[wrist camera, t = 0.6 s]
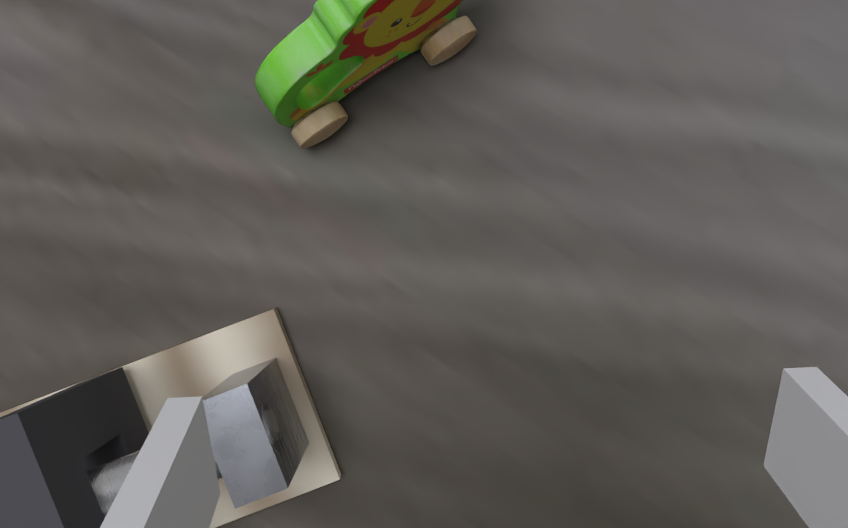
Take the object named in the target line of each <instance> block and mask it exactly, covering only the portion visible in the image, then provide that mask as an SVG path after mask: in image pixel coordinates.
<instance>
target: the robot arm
mask: <svg viewBox="0 0 848 528" xmlns="http://www.w3.org/2000/svg"><path fill="white" fill-rule="evenodd" d="M763 466H764V467H765V469H766V470H767V471H768V473H769V474H770V475H771V477H772V478H773V479H774V481H775V482H776V484H777V485H778V486H779V488H780V489H781V490H782V492H783V493H784V494H785V496H786V497H787V499H788V500H789V501H790V503H791V504H792V505H793V507H794V508H795V509H796V511H797V512H798V514H799V515H800V516H801V518H802V519H803V520H804V522H805V523H806V524H807V526H808V527H809V528H848V397H847V396H846V395H845V394H844V393H843V392H842V391H841V390H840V389H839V388H838V387H837V386H836V385H835V384H834V383H833V382H832V381H831V380H830V379H829V378H828V377H827V376H825V375H824V374H823V373H822V372H821V371H820V370H819V369H818V368H817V367H806V368H785V369H783V373H782V377H781V382H780V387H779V392H778V397H777V402H776V407H775V412H774V416H773V421H772V426H771V431H770V436H769V441H768V446H767V451H766V455H765V460H764V465H763ZM219 496H220V488H219V483H218V478H217V472H216V467H215V462H214V457H213V451H212V446H211V441H210V435H209V430H208V425H207V419H206V414H205V409H204V403H203V398H202V396H199V397H178V398H167V400H166V402H165V404H164V406H163V408H162V410H161V411H160V413H159V415H158V417H157V419H156V421H155V423H154V425H153V427H152V429H151V431H150V433H149V434H148V436H147V438H146V440H145V442H144V444H143V446H142V448H141V450H140V452H139V454H138V456H137V457H136V459H135V461H134V463H133V465H132V467H131V469H130V471H129V473H128V475H127V477H126V478H125V480H124V482H123V484H122V486H121V488H120V490H119V492H118V494H117V496H116V498H115V500H114V501H113V503H112V505H111V507H110V509H109V511H108V513H107V515H106V517H105V519H104V521H103V522H102V524H101V526H100V528H209V527H210V524H211V521H212V518H213V515H214V512H215V509H216V505H217V502H218V499H219Z"/></svg>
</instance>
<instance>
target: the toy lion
mask: <svg viewBox="0 0 848 528" xmlns="http://www.w3.org/2000/svg"><path fill="white" fill-rule="evenodd" d="M462 1H463V0H317V1H316V2H315V4H314V6H313V13H312V14H311V16H310V17H309V18H308V19H307V20H306V21H304V22H303V23H302V24H301V25H299V26H298V27H297V28H296V29H294V30H293V31H292V32H291V33H290V34H289V35H288V36H286V37H285V38H284V39H283V40H282V41H281V42H280V43H279V44H278V45H277V46H276V47H275V48H274V49H273V50H272V51H271V52H270V53H269V55H268V56H267V57H266V58H265V60H264V61H263V63H262V65H261V66H260V68H259V70H258V72H257V74H256V78H255V86H256V89H257V92H258V94H259V95H260V97H261V99H262V100H263V102H264V103H265V105H266V106H267V107H268V109H269V110H270V112H271V113H272V115H273V116H274V117H275V119H276V120H277V121H278V122H279V123H280V124H281V125H284V126H287V127H291V128H292V129H293V130H292V132H291V135H292V136H293V138H294V139H295V141H296V142H297V144H298V145H299V147H300V148H303V149H304V148H307V147H310V146H313V145H315V144H317V143H319V142H321V141H323V140H325V139H326V138H328V137H329V136H331V135H332V134H333V133H335V132H336V131H337V130H338V129H339V128H340V127H341V126H342V125H343V124H344V123H345V122H346V121H347V119H348V115H347V113H346V112H345V111H344V109H343V108H342V106H341V105H340V104H339V103H338V101H340V100H341V99H342V98H343V97H345V96H346V95H347V94H349V93H350V92H351V91H352V90H354V89H355V88H357V87H358V86H359V85H361V84H362V83H364V82H365V81H367V80H368V79H370V78H371V77H373V76H374V75H375V74H377V73H379V72H380V71H382V70H383V69H385V68H386V67H388V66H390V65H391V64H393V63H395V62H396V61H398V60H400V59H402V58H403V57H405V56H407V55H409V54H411V53H413V52H414V51H416V50H419V49H421V54H422V55H423V56H424V58H425V59H426V61H427V62H428V64H429V65H430V66H434V65H437V64H439V63H441V62H443V61H445V60H447V59H449V58H450V57H452V56H453V55H455V54H456V53H458V52H459V51H460V50H461V49H463V48H464V47H465V46H466V45H467V44H468V43H469V42H470V41H471V40H472V38H473V37H474V36H475V35H476V33H477V30H476V28H475V27H474V25H473V24H472V22H471V21H470V19H469V18H468V17H467V16H461V17H459V18H457V17H456V14H457V10H458V7H459V5H460V3H461V2H462Z"/></svg>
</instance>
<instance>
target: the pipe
mask: <svg viewBox="0 0 848 528" xmlns="http://www.w3.org/2000/svg"><path fill="white" fill-rule="evenodd" d="M202 398H203V403H204V409H205V414H206V419H207V425H208V430H209V435H210V441H211V446H212V451H213V457H214V462H215V467H216V472H217V478H218V479H220V478H223V480H224V482H225V485H226V487H227V490H228V492H229V495H230V497H231V500H232V502H233V505H234V508H235V509H236V508H238V507H241V506H244V505H246V504H249V503H251V502H254V501H257V500H259V499H262V498H264V497H267V496H270V495H272V494H275V493H277V492H280V491H283V490H285V489H288V487H289V485H290V483H291V481H292V479H293V477H294V474H295V472H296V470H297V468H298V466H299V464H300V462H301V459H302V457H303V455H304V453H305V451H306V449H307V446H308V444H309V441H308V438H307V436H306V433H305V430H304V428H303V425H302V423H301V420H300V418H299V415H298V412H297V410H296V407H295V405H294V402H293V400H292V397H291V395H290V392H289V389H288V387H287V384H286V382H285V379H284V377H283V374H282V371H281V369H280V366H279V364H278V361H277V359H276V358H273V359H271V360H268V361H266V362H263V363H260V364H258V365H255V366H252V367H250V368H247V369H245V370H242V371H239V372H237V373H234V374H232V375H231V376H229V377H228V378H227V379H226V380H224V381H223V382H222V383H220V384H219V385H218V386H216V387H215V388H214V389H213V390H211V391H210V392H209V393H207V394H206V395H205V396H204V397H202ZM139 452H140V450H139V451H137V452H134V453H131V454H129V455H126V456H124V457H121V458H118V459H116V460H113V461H111V462H108V463H105V464H103V465H100V466H97V467H95V468H92V469H90V470H87V471H86V473H87V476H88V478H89V481H90V483H91V486H92V488H93V491H94V493H95V496H96V498H97V501H98V503H99V506H100V508H101V511H102V513H103V516H104V518H105V517H106V515H107V513H108V511H109V509H110V507H111V505H112V503H113V501H114V500H115V498H116V496H117V494H118V492H119V490H120V488H121V486H122V484H123V482H124V480H125V478H126V477H127V475H128V473H129V471H130V469H131V467H132V465H133V463H134V461H135V459H136V457H137V456H138V454H139Z"/></svg>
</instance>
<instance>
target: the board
mask: <svg viewBox="0 0 848 528" xmlns="http://www.w3.org/2000/svg"><path fill="white" fill-rule="evenodd" d="M273 358H276V359H277V361H278V364H279V366H280V369H281V371H282V374H283V377H284V379H285V382H286V384H287V387H288V389H289V392H290V395H291V397H292V400H293V402H294V405H295V407H296V410H297V412H298V415H299V418H300V420H301V423H302V425H303V428H304V430H305V433H306V436H307V438H308V441H309V444H308V446H307V449H306V451H305V453H304V455H303V457H302V459H301V462H300V464H299V466H298V468H297V470H296V472H295V474H294V477H293V479H292V481H291V483H290V485H289V487H288V489H285V490H283V491H280V492H277V493H275V494H272V495H270V496H267V497H264V498H262V499H259V500H257V501H254V502H251V503H249V504H246V505H244V506H241V507H238V508H236V509H235V508H234V505H233V502H232V500H231V497H230V495H229V492H228V490H227V487H226V485H225V482H224V480H223V478H220V479H218V483H219V488H220V496H219V499H218V502H217V505H216V509H215V512H214V515H213V518H212V521H211V524H210V527H209V528H215V527H218V526H221V525H223V524H226V523H228V522H231V521H234V520H236V519H239V518H241V517H244V516H247V515H249V514H252V513H254V512H257V511H259V510H262V509H265V508H267V507H270V506H272V505H275V504H278V503H280V502H283V501H285V500H288V499H291V498H293V497H296V496H298V495H301V494H304V493H306V492H309V491H311V490H314V489H317V488H319V487H322V486H324V485H327V484H330V483H332V482H335V481H337V480H340V478H341V472H340V470H339V467H338V464H337V462H336V459H335V457H334V454H333V452H332V449H331V446H330V444H329V441H328V439H327V436H326V434H325V431H324V428H323V426H322V423H321V421H320V418H319V416H318V413H317V410H316V408H315V405H314V403H313V400H312V398H311V395H310V392H309V390H308V387H307V385H306V382H305V380H304V377H303V374H302V372H301V369H300V367H299V364H298V362H297V359H296V356H295V354H294V351H293V349H292V346H291V344H290V341H289V338H288V336H287V333H286V331H285V328H284V326H283V323H282V320H281V318H280V315H279V313H278V310H277V308H274V309H272V310H269V311H266V312H264V313H261V314H259V315H256V316H253V317H251V318H248V319H245V320H243V321H240V322H237V323H235V324H232V325H230V326H227V327H224V328H222V329H219V330H216V331H214V332H211V333H208V334H206V335H203V336H201V337H198V338H195V339H193V340H190V341H187V342H185V343H182V344H179V345H177V346H174V347H172V348H169V349H166V350H164V351H161V352H158V353H156V354H153V355H150V356H148V357H145V358H143V359H140V360H137V361H135V362H132V363H129V364H127V365H124V366H121V367H123V370H124V372H125V375H126V377H127V380H128V382H129V385H130V387H131V390H132V392H133V395H134V397H135V400H136V402H137V405H138V407H139V410H140V412H141V415H142V417H143V420H144V422H145V425H146V427H147V430H148V432H149V433H150V431H151V429H152V427H153V425H154V423H155V421H156V419H157V417H158V415H159V413H160V411H161V410H162V408H163V406H164V404H165V402H166V400H167V398H178V397H199V396H202V397H204V396H205V395H206V394H207V393H209V392H210V391H211V390H213V389H214V388H215V387H216V386H218V385H219V384H220V383H222V382H223V381H224V380H226V379H227V378H228V377H229V376H231V375H232V374H234V373H237V372H239V371H242V370H245V369H247V368H250V367H252V366H255V365H258V364H260V363H263V362H266V361H268V360H271V359H273ZM121 367H119V368H121ZM116 369H118V368H116ZM116 369H114V370H116ZM111 371H113V370H111ZM108 372H110V371H108ZM108 372H106V373H108ZM103 374H105V373H103ZM100 375H102V374H100ZM100 375H98V376H100ZM95 377H97V376H95ZM92 378H94V377H92ZM92 378H90V379H92ZM87 380H89V379H87ZM87 380H85V381H87ZM82 382H84V381H82ZM79 383H81V382H79ZM79 383H77V384H79ZM74 385H76V384H74ZM74 385H71V386H69V387H72V386H74ZM69 387H66V388H63V389H61V390H58V391H56V392H53V393H50V394H48V395H45V396H42V397H40V398H37V399H34V400H32V401H29V402H27V403H24V404H21V405H19V406H16V407H13V408H11V409H8V410H6V411H3V412H0V417H2V416H4V415H7V414H9V413H11V412H14V411H16V410H18V409H21V408H23V407H25V406H28V405H30V404H32V403H35V402H37V401H39V400H41V399H44V398H46V397H48V396H51V395H53V394H55V393H58V392H60V391H62V390H65V389H67V388H69Z"/></svg>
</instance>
